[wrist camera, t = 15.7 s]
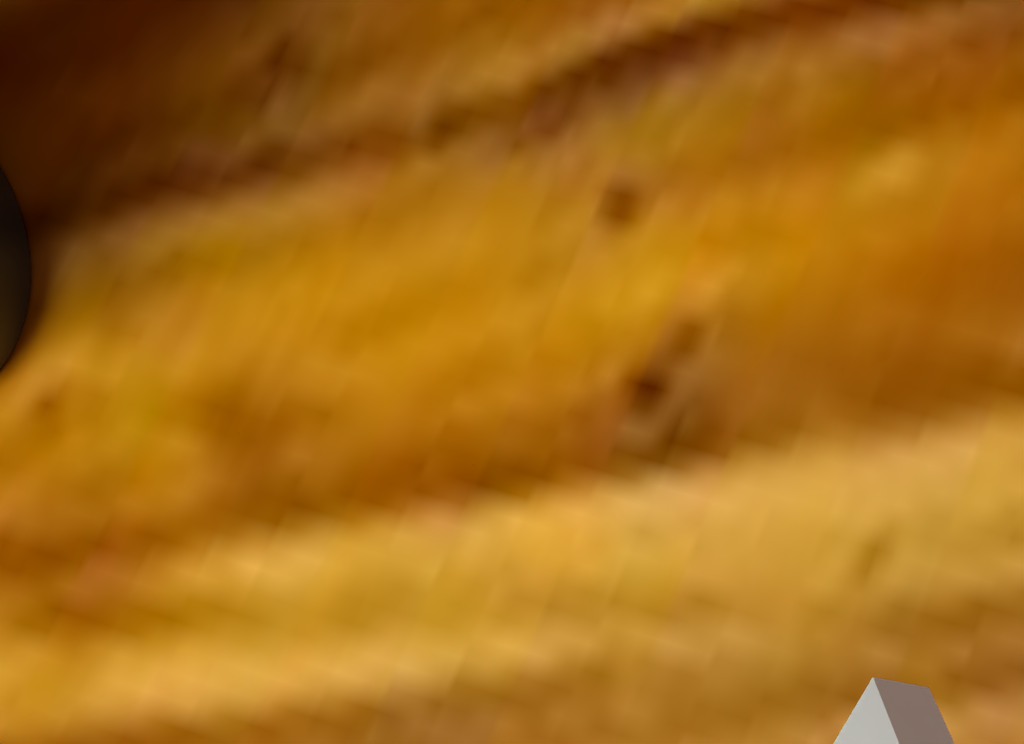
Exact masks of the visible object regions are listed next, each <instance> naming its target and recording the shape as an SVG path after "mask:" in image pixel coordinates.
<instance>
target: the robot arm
mask: <svg viewBox="0 0 1024 744" xmlns="http://www.w3.org/2000/svg"><path fill="white" fill-rule="evenodd" d="M29 291H30V257H29V249H28V242H27V237H26V232H25V228H24V224H23V220H22V217H21V213H20V210H19V207H18V205H17V202H16V199H15V197H14V194H13V192H12V190H11V188H10V186H9V184H8V181H7V180H6V178H5V176H4V174H3V172H2V170H1V169H0V368H1V367H2V366H3V364H4V363H5V361H6V360H7V359H8V357H9V355H10V353H11V352H12V350H13V348H14V346H15V344H16V342H17V340H18V337H19V335H20V332H21V329H22V326H23V323H24V320H25V316H26V311H27V307H28V300H29ZM833 744H954V742H953V740H952V737H951V735H950V733H949V731H948V729H947V726H946V724H945V722H944V720H943V718H942V715H941V713H940V711H939V709H938V707H937V704H936V702H935V700H934V698H933V696H932V693H931V691H930V689H929V687H923V686H918V685H913V684H907V683H902V682H897V681H892V680H886V679H881V678H876V677H873V678H872V679H871V681H870V683H869V684H868V686H867V688H866V689H865V691H864V693H863V694H862V696H861V698H860V700H859V701H858V703H857V705H856V706H855V708H854V710H853V711H852V713H851V715H850V716H849V718H848V720H847V721H846V723H845V725H844V727H843V728H842V730H841V732H840V733H839V735H838V737H837V738H836V740H835V742H834V743H833Z"/></svg>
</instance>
